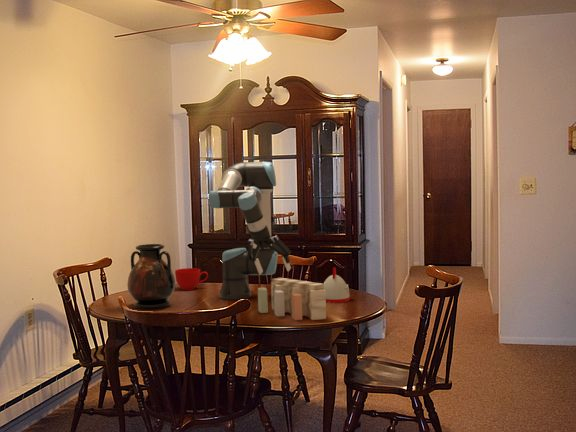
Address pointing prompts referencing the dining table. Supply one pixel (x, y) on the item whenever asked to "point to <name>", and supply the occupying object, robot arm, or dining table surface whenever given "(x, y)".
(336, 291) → the white and red dome
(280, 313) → the grey key
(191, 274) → the ceramic cup
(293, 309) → the salmon pink upright block
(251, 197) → the robot arm
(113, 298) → the dining table surface
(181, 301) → the dining table surface
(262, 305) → the sage key
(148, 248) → the amphora vase
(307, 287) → the cream notched block
